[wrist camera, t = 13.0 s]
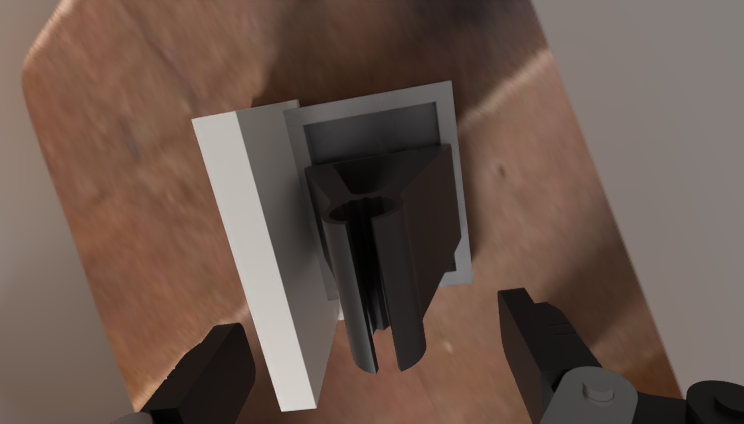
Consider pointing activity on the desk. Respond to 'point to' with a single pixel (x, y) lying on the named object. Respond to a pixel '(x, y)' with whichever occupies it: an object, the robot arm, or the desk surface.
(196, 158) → the desk surface
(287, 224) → the door edge
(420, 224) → the phone stand
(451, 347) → the desk surface
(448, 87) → the open tray
